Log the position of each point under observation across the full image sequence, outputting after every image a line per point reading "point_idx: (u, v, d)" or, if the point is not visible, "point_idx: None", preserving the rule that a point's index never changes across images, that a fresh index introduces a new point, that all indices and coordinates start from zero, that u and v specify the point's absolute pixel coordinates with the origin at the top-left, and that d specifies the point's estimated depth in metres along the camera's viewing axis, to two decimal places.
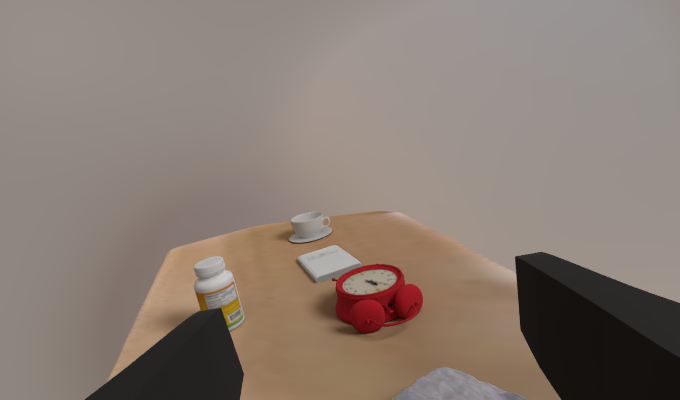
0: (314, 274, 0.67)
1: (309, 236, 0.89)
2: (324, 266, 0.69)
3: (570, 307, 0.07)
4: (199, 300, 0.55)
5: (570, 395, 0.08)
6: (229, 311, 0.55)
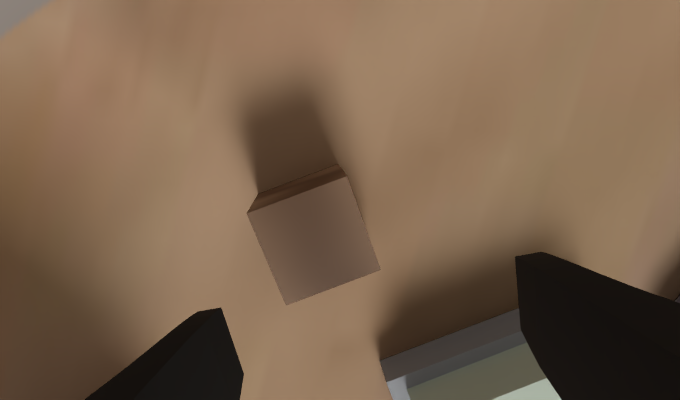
0: None
1: None
2: None
3: (570, 307, 0.07)
4: None
5: (571, 395, 0.08)
6: None
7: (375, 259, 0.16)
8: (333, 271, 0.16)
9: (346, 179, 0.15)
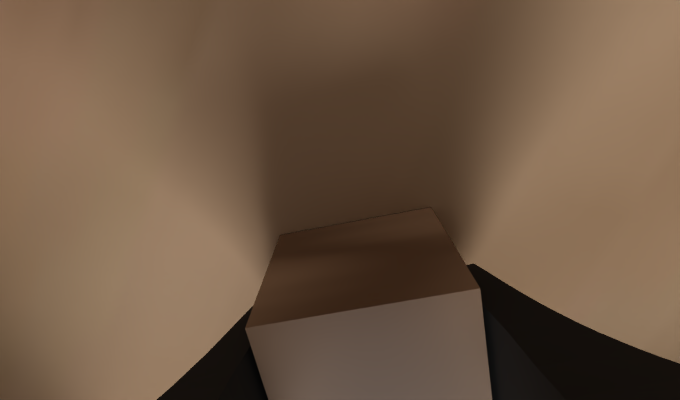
0: None
1: None
2: None
3: None
4: None
5: None
6: None
7: None
8: None
9: (477, 295, 0.07)
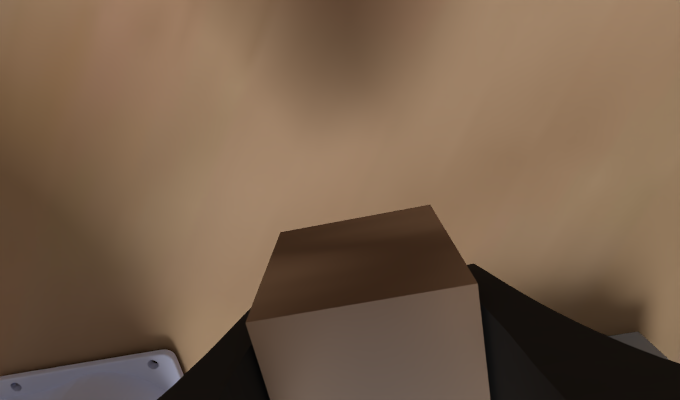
0: None
1: None
2: None
3: (482, 321, 0.07)
4: None
5: None
6: None
7: None
8: None
9: (474, 290, 0.07)
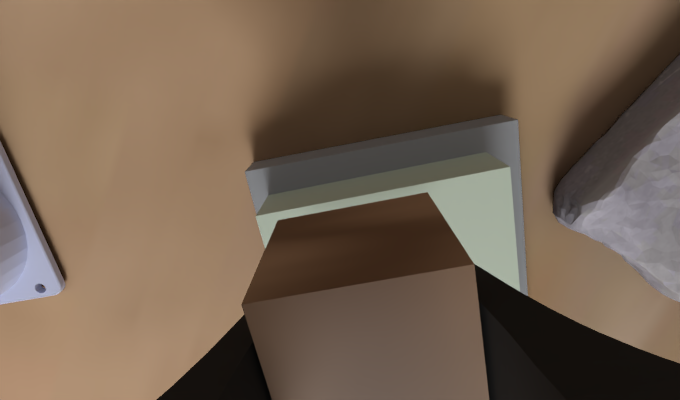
0: None
1: None
2: None
3: (483, 321, 0.07)
4: None
5: None
6: None
7: None
8: None
9: (471, 271, 0.07)
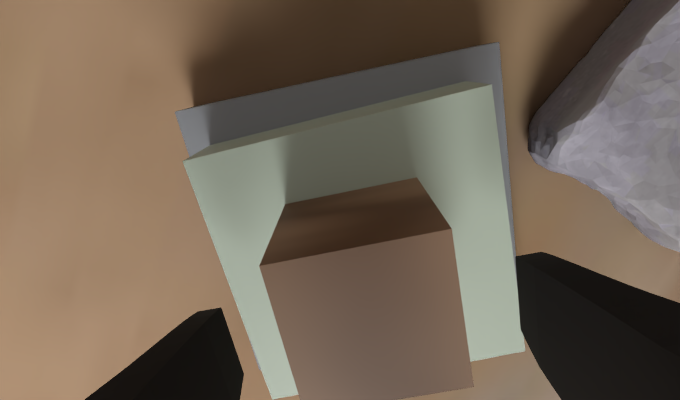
0: None
1: None
2: None
3: (570, 307, 0.07)
4: None
5: (571, 395, 0.08)
6: None
7: (468, 369, 0.09)
8: (392, 377, 0.09)
9: (449, 234, 0.08)
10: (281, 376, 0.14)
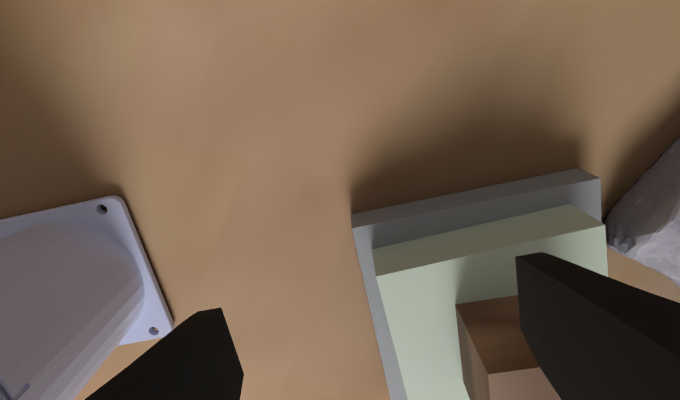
0: None
1: None
2: None
3: (570, 307, 0.07)
4: None
5: (571, 395, 0.08)
6: None
7: None
8: None
9: None
10: None
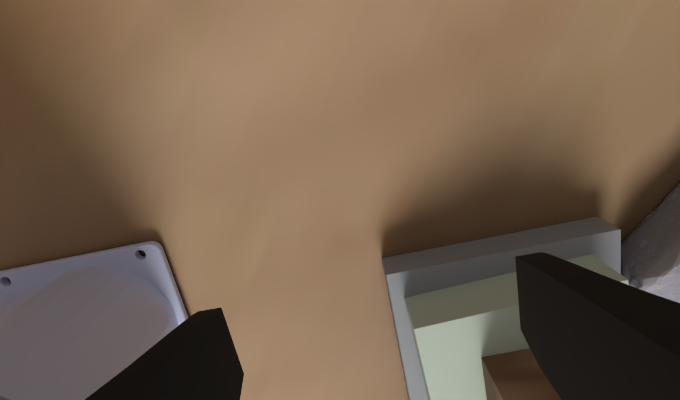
0: None
1: None
2: None
3: (570, 307, 0.07)
4: None
5: (571, 395, 0.08)
6: None
7: None
8: None
9: None
10: None
